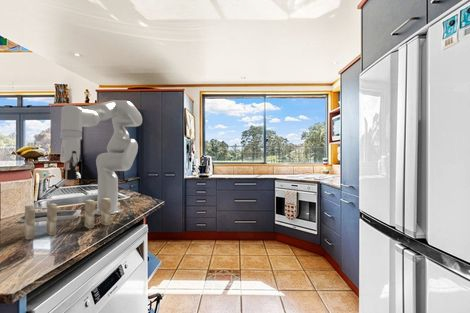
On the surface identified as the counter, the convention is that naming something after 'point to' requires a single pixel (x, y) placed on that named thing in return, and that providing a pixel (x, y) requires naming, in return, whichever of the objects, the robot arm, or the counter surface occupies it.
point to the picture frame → (60, 215)
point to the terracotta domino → (67, 182)
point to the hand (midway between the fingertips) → (69, 178)
